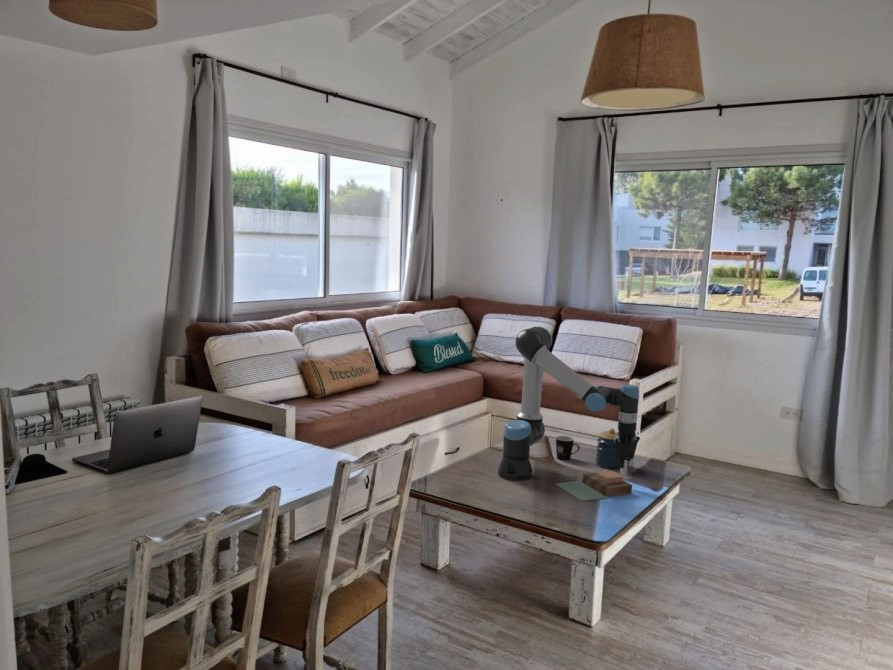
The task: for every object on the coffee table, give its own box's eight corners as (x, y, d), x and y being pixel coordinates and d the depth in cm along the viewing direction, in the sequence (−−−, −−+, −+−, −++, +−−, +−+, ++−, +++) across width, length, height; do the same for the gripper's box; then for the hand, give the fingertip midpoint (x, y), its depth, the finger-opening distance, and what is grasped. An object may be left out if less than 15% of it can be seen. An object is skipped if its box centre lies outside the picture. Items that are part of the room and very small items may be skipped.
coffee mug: (550, 456, 332) (552, 436, 331) (565, 455, 336) (567, 435, 335) (564, 464, 322) (566, 443, 321) (579, 462, 326) (581, 441, 324)
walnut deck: (582, 482, 298) (583, 473, 297) (605, 479, 302) (606, 471, 302) (607, 497, 281) (607, 487, 281) (631, 494, 286) (632, 485, 285)
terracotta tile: (595, 476, 294) (596, 472, 294) (611, 475, 297) (611, 470, 297) (606, 483, 287) (607, 478, 286) (622, 481, 290) (623, 476, 289)
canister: (591, 466, 321) (594, 429, 318) (599, 459, 332) (602, 423, 330) (619, 471, 315) (622, 434, 312) (626, 464, 326) (629, 427, 324)
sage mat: (555, 484, 294) (555, 483, 294) (579, 481, 298) (579, 480, 298) (581, 501, 275) (581, 500, 275) (606, 498, 280) (606, 496, 280)
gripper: (620, 424, 285) (615, 479, 289) (645, 422, 290) (641, 476, 294) (609, 420, 292) (605, 473, 295) (634, 418, 297) (630, 470, 300)
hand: (623, 474), depth 294 cm, fingers closed
